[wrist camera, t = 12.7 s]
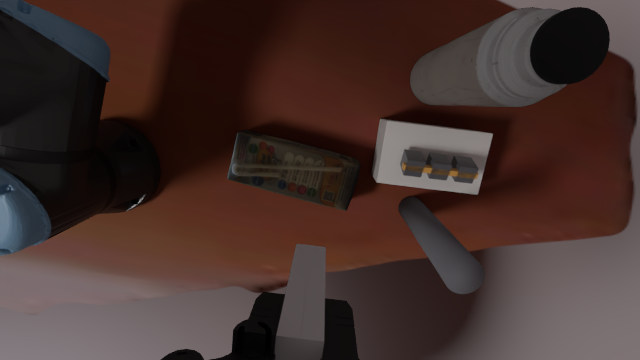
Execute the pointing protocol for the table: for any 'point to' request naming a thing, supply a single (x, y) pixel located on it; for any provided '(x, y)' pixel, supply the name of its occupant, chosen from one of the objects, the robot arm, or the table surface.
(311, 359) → the robot arm
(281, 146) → the beverage carton
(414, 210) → the post
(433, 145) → the breaker box
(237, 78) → the table surface
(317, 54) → the table surface
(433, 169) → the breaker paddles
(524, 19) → the thermos bottle
